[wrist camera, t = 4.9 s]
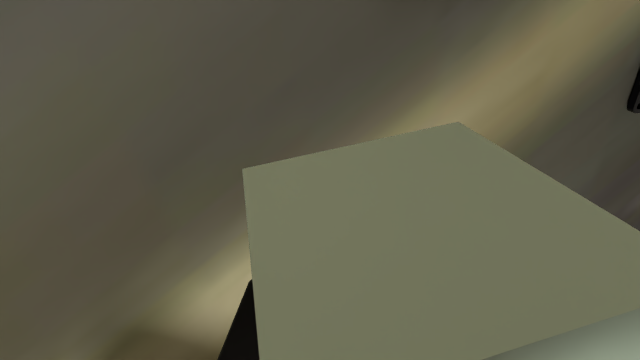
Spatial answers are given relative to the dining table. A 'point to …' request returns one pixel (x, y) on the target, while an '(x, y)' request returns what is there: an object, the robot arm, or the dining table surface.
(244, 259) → the dining table surface
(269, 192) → the sage cube
